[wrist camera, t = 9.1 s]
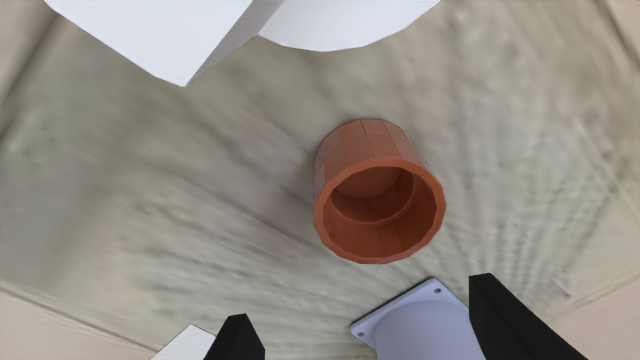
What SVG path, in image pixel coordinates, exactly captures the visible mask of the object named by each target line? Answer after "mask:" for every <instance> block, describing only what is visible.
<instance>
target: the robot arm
mask: <svg viewBox="0 0 640 360" xmlns="http://www.w3.org/2000/svg"><path fill="white" fill-rule="evenodd" d="M437 288H438V289H437ZM350 333H351V334H352V335H354V336H355V337H357V338H358V339H360V340H361V341H363V342H364V343H366V344H367V345H369V346H370V347H371V348H373V349H374V350H376V351H377V357H378V360H588V359H587V358H586V357H584V356H583V355H582V354H581V353H579V352H578V351H577V350H576V349H575V348H573V347H572V346H571V345H570V344H568V343H567V342H566V341H565V340H564V339H562V338H561V337H560V336H559V335H558V334H557V333H556V332H554V331H553V330H552V329H551V328H550V327H549V326H547V325H546V324H545V323H544V322H543V321H542V320H540V319H539V318H538V317H537V316H536V315H535V314H534V313H533V312H531V311H530V310H529V309H528V308H527V307H526V306H525V305H524V304H523V303H522V302H521V301H520V300H518V299H517V298H516V297H515V296H514V295H513V294H512V293H511V292H510V291H509V290H508V289H507V288H506V287H505V286H504V285H503V284H502V283H501V282H500V281H499V280H498V279H497V278H496V277H495V276H494V275H492V274H491V273H485V274H479V275H473V276H469V308H468V307H467V306H466V305H464V304H463V303H462V302H461V301H460V300H459V299H458V298H457V297H456V296H455V295H454V294H453V293H452V292H450V291H449V290H448V289H447V288H446V287H445V286H444V285H443V284H442V283H441V282H440V281H439V280H437V279H429V280H427V281H425V282H424V283H422V284H420V285H419V286H417V287H415V288H413V289H412V290H410V291H408V292H407V293H405V294H403V295H402V296H400V297H398V298H397V299H395V300H393V301H391V302H390V303H388V304H386V305H385V306H383V307H381V308H380V309H378V310H376V311H374V312H373V313H371V314H369V315H368V316H366V317H364V318H363V319H361V320H359V321H357V322H356V323H354V324H352V325H351V326H350ZM203 360H265V349H264V347H263V345H262V343H261V341H260V339H259V337H258V335H257V333H256V331H255V329H254V328H253V326H252V324H251V322H250V320H249V318H248V316H247V314H246V313H244V314H238V315H232V316H228V318H227V319H226V321H225V323H224V324H223V326H222V328H221V329H220V331H219V333H218V335H217V336H216V338H215V340H214V342H213V343H212V345H211V347H210V349H209V350H208V352H207V354H206V355H205V357H204V359H203Z"/></svg>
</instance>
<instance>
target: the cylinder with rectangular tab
mask: <svg viewBox="0 0 640 360" xmlns="http://www.w3.org/2000/svg"><path fill="white" fill-rule="evenodd" d="M44 1H45V2H46V3H47V4H48V5H49V6H50V7H51V8H52V9H53V10H55V11H56V12H58V13H59V14H61V15H62V16H64V17H65V18H67V19H68V20H70V21H71V22H73V23H74V24H76V25H77V26H79V27H81V28H82V29H84V30H85V31H87V32H88V33H90V34H91V35H93V36H94V37H96V38H97V39H99V40H100V41H102V42H103V43H105V44H106V45H108V46H109V47H111V48H113V49H114V50H116V51H117V52H119V53H120V54H122V55H123V56H125V57H126V58H128V59H129V60H131V61H132V62H134V63H135V64H137V65H138V66H140V67H141V68H143V69H144V70H146V71H148V72H149V73H151V74H152V75H154V76H156V77H158V78H161V79H164V80H166V81H169V82H171V83H174V84H177V85H179V86H182V87H185V86H187V85H188V84H189V83H191V82H192V81H193V80H195V79H196V78H198V77H199V76H200V75H202V74H203V73H205V72H206V71H207V70H209V69H210V68H211V67H213V66H214V65H216V64H217V63H218V62H220V61H221V60H223V59H224V58H225V57H227V56H228V55H229V54H231V53H232V52H234V51H235V50H236V49H238V48H239V47H240V46H242V45H243V44H245V43H246V42H247V41H249V40H250V39H252V38H253V37H254V36H256V35H259V36H262V37H264V38H266V39H268V40H271V41H273V42H275V43H278V44H280V45H282V46H286V47H293V48H300V49H307V50H314V51H321V52H327V51H334V50H341V49H349V48H356V47H363V46H366V45H368V44H370V43H373V42H375V41H377V40H380V39H382V38H384V37H387V36H389V35H391V34H394V33H396V32H398V31H401V30H403V29H404V28H405V27H407V26H408V25H409V24H410V23H412V22H413V21H414V20H416V19H417V18H418V17H420V16H421V15H422V14H424V13H425V12H426V11H427V10H429V9H430V8H431V7H433V6H434V5H435V4H437V3H438V2H439V1H440V0H44Z"/></svg>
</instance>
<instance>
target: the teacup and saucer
mask: <svg viewBox="0 0 640 360" xmlns="http://www.w3.org/2000/svg"><path fill="white" fill-rule="evenodd" d="M215 338H216V336H214V335H212V334H209V333H207V332H205V331H203V330H201V329H199V328H197V327H195V326H193V325H191V324H190V325H189V326H188V327H187V328H186V329H185V330H183V331H182V332H181V333H180V334H179V335H178V336H177V337H175V338H174V339H173V340H172V341H171V342H170V343H169V344H168V345H166V346H165V347H164V348H163V349H162V350H161V351H160V352H158V353H157V354H156V355H155V356H154V357H153V358H152V359H150V360H203V359H204V357H205V355H206V354H207V352H208V350H209V349H210V347H211V345H212V343H213V342H214V340H215Z"/></svg>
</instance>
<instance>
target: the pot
mask: <svg viewBox="0 0 640 360" xmlns="http://www.w3.org/2000/svg"><path fill="white" fill-rule="evenodd" d="M445 210H446V202H445V198H444V193H443V189H442V186H441V184H440V182H439V181H438V179H437V178H436V176H435V175H434V173H433V172H432V170H431V169H430V167H429V166H428V164H427V163H426V161H425V160H424V158H423V157H422V155H421V154H420V152H419V151H418V149H417V148H416V146H415V145H414V143H413V142H412V140H411V139H410V138H409V137H408V136H407V135H406V134H405V132H404V131H403V130H402V129H400V128H399V127H397V126H395V125H393V124H391V123H388V122H386V121H384V120H373V119H361V120H356V121H353V122H350V123H347V124H345V125H342V126H340V127H338V128H337V129H336V130H334V131H333V132H332V133H331V134H330V135H329V136H328V137H327V138H325V139H324V141H323V142H322V144H321V146H320V148H319V150H318V152H317V154H316V156H315V159H314V226H315V228H316V230H317V232H318V235H319V237H320V239H321V241H322V243H323V244H324V245H325V246H326V247H328V248H329V249H330V250H331V251H333V252H334V253H335V254H336V255H338V256H339V257H341V258H344V259H347V260H350V261H353V262H356V263H359V264H386V263H390V262H393V261H397V260H401V259H404V258H406V257H409V256H410V255H412V254H414V253H415V252H417V251H418V250H420V249H421V248H423V247H425V246H426V245H427V244H428V243H429V242H430V240H431V239H432V238H433V237H434V235H435V234H436V233H437V232H438V230H439V229H440V227H441V225H442V221H443V217H444V213H445Z"/></svg>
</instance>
